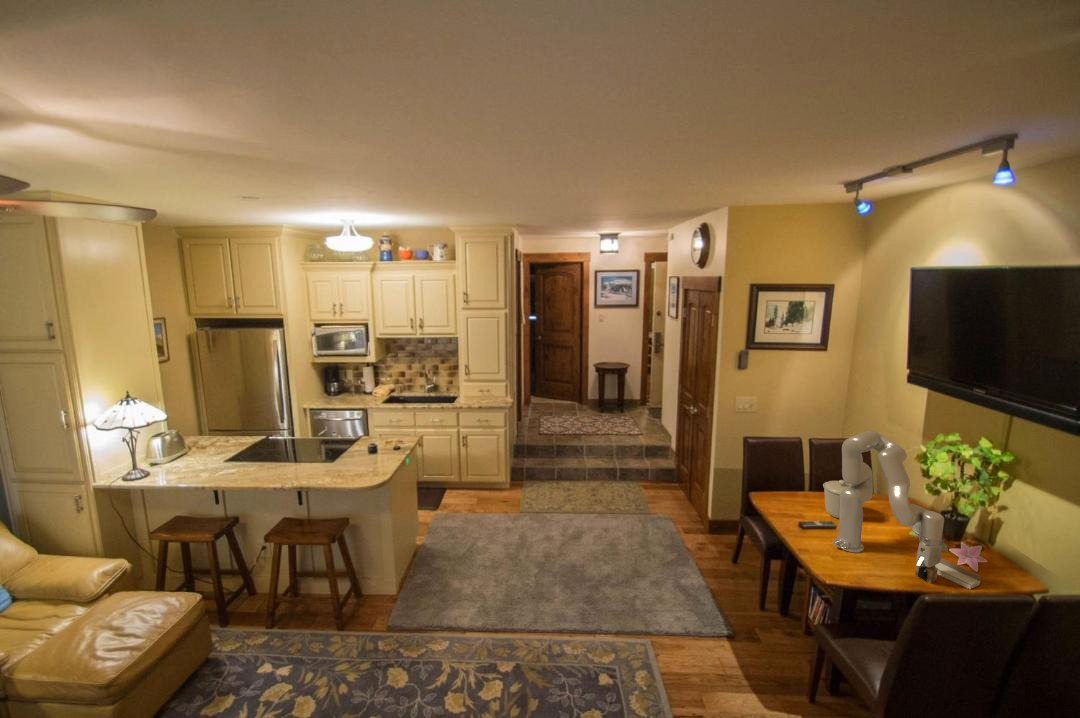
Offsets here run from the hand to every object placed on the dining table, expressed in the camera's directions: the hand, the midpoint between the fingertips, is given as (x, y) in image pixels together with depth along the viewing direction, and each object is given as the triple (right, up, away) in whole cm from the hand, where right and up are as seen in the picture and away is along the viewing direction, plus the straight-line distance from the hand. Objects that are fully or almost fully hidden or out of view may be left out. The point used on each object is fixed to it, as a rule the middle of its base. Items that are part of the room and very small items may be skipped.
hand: (925, 576), depth 205 cm
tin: (+26, +5, +32) cm, 42 cm away
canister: (-2, +8, +56) cm, 57 cm away
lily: (+27, +1, +9) cm, 29 cm away
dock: (+12, 0, +2) cm, 12 cm away
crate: (0, -1, 0) cm, 1 cm away
